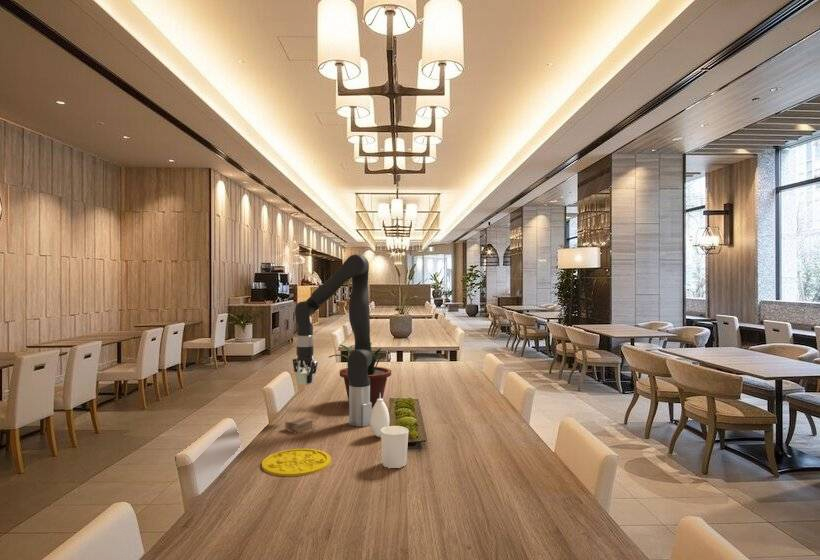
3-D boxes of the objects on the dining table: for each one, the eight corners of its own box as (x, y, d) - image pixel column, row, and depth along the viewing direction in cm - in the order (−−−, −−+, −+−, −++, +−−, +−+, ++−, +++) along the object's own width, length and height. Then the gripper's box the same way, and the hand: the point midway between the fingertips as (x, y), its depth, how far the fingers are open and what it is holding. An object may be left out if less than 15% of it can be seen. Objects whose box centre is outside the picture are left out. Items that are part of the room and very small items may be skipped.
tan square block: (312, 429, 208) (312, 420, 208) (298, 434, 201) (298, 424, 201) (299, 426, 212) (299, 417, 212) (285, 431, 205) (285, 421, 205)
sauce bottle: (386, 440, 193) (387, 395, 193) (367, 438, 195) (368, 394, 195) (391, 434, 201) (391, 391, 201) (373, 433, 203) (373, 390, 203)
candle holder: (374, 466, 166) (375, 431, 166) (389, 457, 175) (389, 424, 175) (399, 472, 162) (400, 436, 162) (413, 462, 170) (413, 428, 170)
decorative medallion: (260, 481, 155) (260, 474, 155) (262, 455, 177) (262, 449, 177) (334, 473, 161) (334, 467, 161) (327, 449, 184) (327, 444, 184)
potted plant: (388, 414, 231) (389, 351, 231) (321, 413, 232) (322, 350, 232) (392, 396, 266) (393, 342, 266) (334, 396, 266) (334, 341, 266)
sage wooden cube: (312, 383, 221) (312, 372, 221) (304, 385, 217) (304, 374, 217) (304, 382, 223) (304, 371, 223) (296, 384, 219) (296, 373, 219)
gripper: (322, 345, 219) (322, 383, 219) (299, 343, 227) (299, 379, 227) (310, 347, 213) (310, 385, 213) (287, 344, 221) (287, 382, 221)
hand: (304, 382), depth 220 cm, fingers closed on sage wooden cube, 5 cm apart
